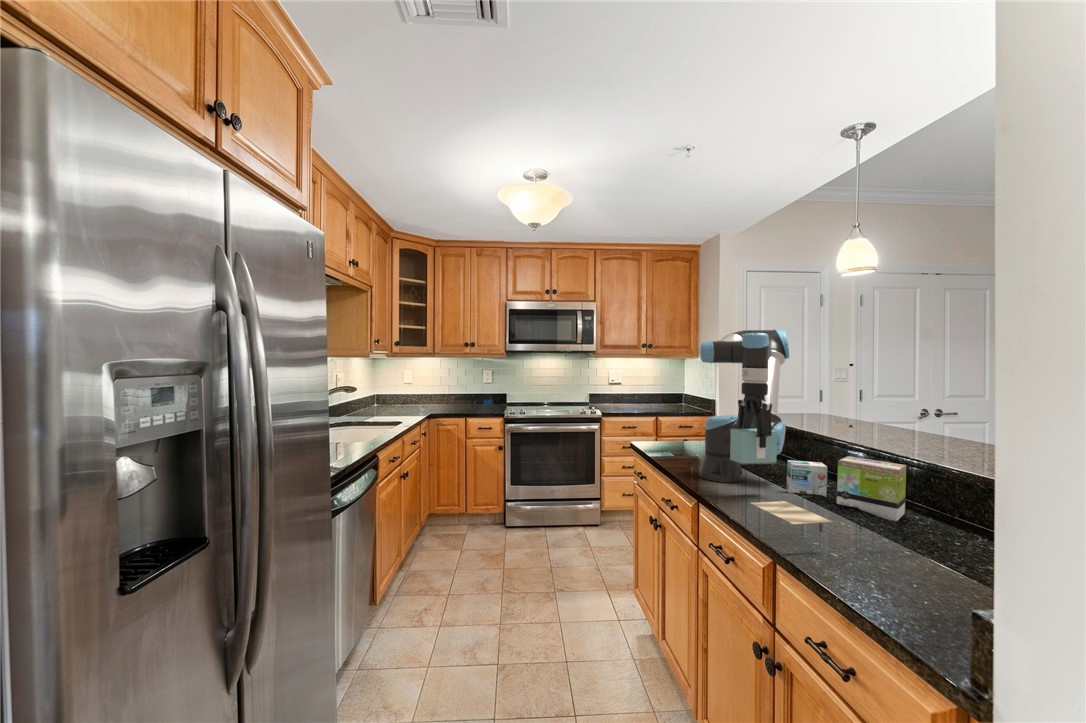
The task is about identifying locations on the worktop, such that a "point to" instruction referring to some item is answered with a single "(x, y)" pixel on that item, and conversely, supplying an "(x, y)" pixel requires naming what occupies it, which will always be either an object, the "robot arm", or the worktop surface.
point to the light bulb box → (806, 477)
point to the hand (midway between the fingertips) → (753, 455)
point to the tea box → (872, 486)
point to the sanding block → (751, 447)
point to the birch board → (790, 512)
